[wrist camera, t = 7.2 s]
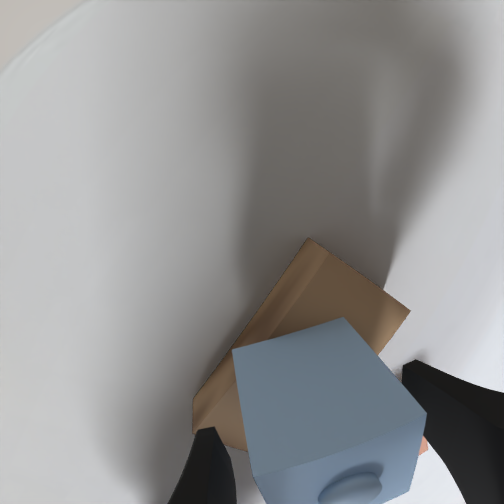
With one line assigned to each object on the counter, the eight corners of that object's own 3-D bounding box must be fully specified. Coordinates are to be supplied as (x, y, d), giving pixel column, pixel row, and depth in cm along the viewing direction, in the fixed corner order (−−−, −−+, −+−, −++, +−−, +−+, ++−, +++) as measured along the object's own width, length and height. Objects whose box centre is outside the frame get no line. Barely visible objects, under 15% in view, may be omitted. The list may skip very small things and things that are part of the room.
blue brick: (350, 396, 13) (413, 498, 7) (257, 425, 13) (286, 544, 7) (343, 316, 12) (434, 422, 6) (231, 349, 12) (255, 489, 6)
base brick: (269, 423, 17) (279, 460, 14) (193, 393, 16) (192, 433, 13) (379, 287, 15) (410, 310, 13) (305, 235, 14) (329, 252, 11)
